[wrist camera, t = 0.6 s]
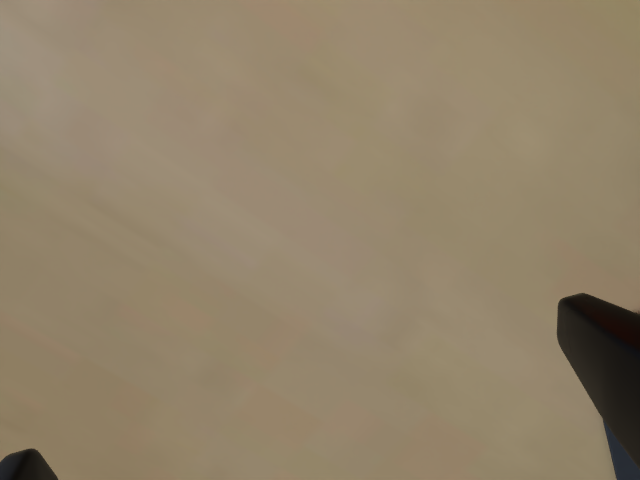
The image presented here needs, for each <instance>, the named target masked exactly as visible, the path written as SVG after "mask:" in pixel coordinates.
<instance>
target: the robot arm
mask: <svg viewBox="0 0 640 480" xmlns="http://www.w3.org/2000/svg"><path fill="white" fill-rule="evenodd" d="M557 338H558V342H559V345H560V347H561V349H562V351H563V352H564V354H565V356H566V358H567V359H568V361H569V363H570V364H571V366H572V368H573V369H574V371H575V373H576V374H577V376H578V378H579V380H580V381H581V383H582V385H583V386H584V388H585V390H586V391H587V393H588V395H589V397H590V398H591V400H592V402H593V403H594V405H595V407H596V408H597V410H598V412H599V413H600V415H601V417H602V418H603V420H604V421H605V423H606V424H607V426H608V427H609V429H610V430H611V432H612V433H613V434H614V436H615V437H616V438H617V440H618V441H619V443H620V444H621V445H622V447H623V448H624V449H625V451H626V452H627V453H628V455H629V456H630V457H631V459H632V460H633V461H634V463H635V464H636V465H637V467H638V468H639V469H640V315H639V314H637V313H634V312H632V311H629V310H627V309H624V308H622V307H619V306H616V305H614V304H611V303H609V302H606V301H604V300H601V299H599V298H596V297H594V296H591V295H588V294H585V293H579V294H576V295H572V296H568V297H565V298H562V299H561V300H560V301H559V303H558V317H557ZM0 480H58V478H57V476H56V475H55V473H54V472H53V471H52V469H51V468H50V467H49V465H48V464H47V462H46V461H45V460H44V458H43V457H42V455H41V454H40V453H39V452H38V451H37V450H35V449H26V450H23V451H19V452H16V453H12V454H10V455H8V456H6V457H5V458H4V459H3V460H2V461H1V462H0Z"/></svg>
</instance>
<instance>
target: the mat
mask: <svg viewBox="0 0 640 480" xmlns="http://www.w3.org/2000/svg"><path fill="white" fill-rule="evenodd" d="M603 422H604V427H605V431H606V435H607V439H608V444H609V448H610V452H611V457H612V461H613V465H614V470H615V474H616V478H617V480H640V469H639V468H638V467H637V465H636V464H635V463H634V461H633V460H632V459H631V457H630V456H629V455H628V453H627V452H626V451H625V449H624V448H623V447H622V445H621V444H620V443H619V441H618V440H617V438H616V437H615V436H614V434H613V433H612V432H611V430H610V429H609V427H608V426H607V424H606V423H605V421H604V420H603Z"/></svg>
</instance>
